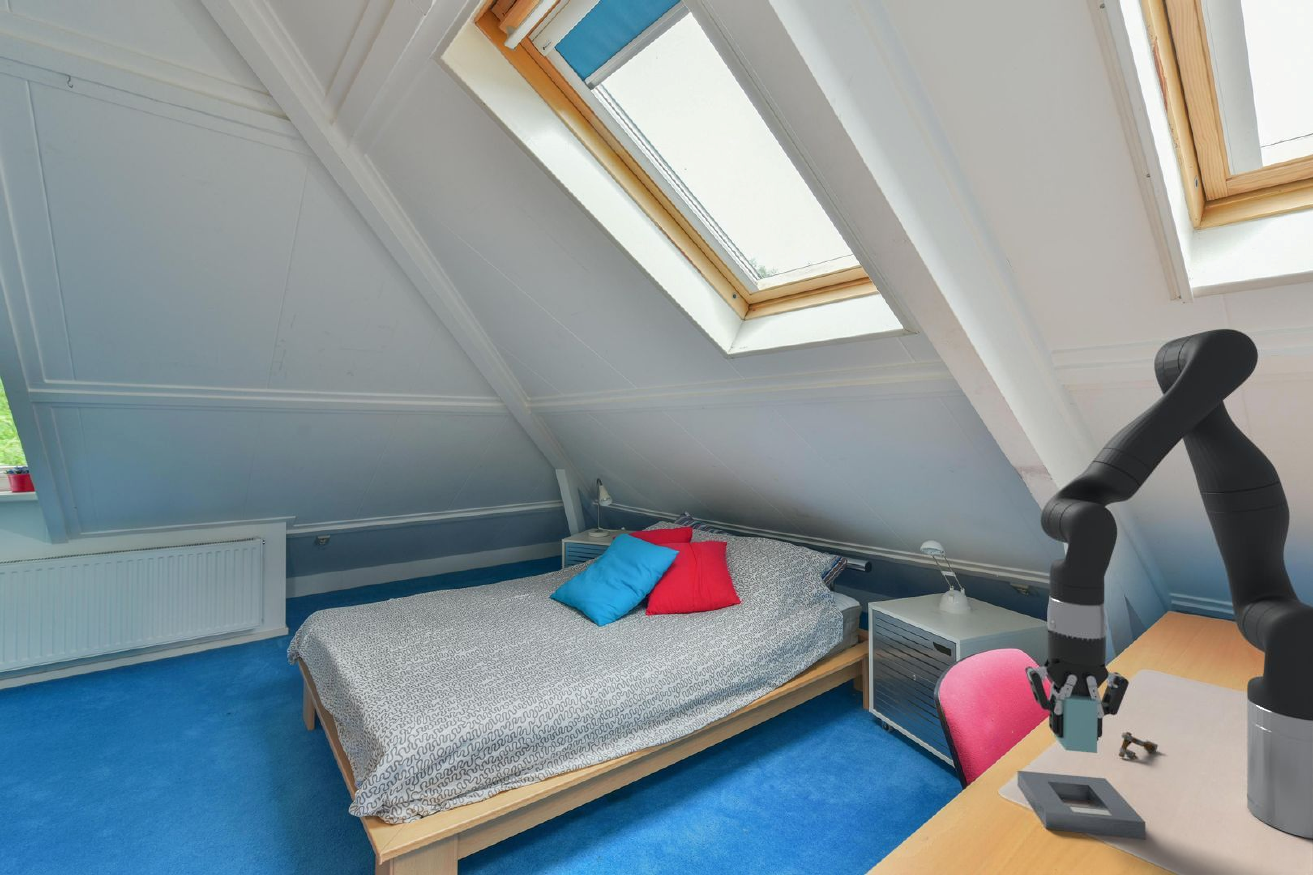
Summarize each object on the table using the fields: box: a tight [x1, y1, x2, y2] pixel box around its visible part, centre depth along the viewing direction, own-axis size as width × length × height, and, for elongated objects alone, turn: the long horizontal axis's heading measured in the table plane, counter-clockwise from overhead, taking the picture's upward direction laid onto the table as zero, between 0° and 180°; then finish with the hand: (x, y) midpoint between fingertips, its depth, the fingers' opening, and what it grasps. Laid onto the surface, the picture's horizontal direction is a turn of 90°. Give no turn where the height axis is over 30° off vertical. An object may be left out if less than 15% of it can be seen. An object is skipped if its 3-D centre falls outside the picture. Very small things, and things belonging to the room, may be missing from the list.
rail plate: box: [1017, 770, 1146, 840], centre depth 94 cm, size 13×11×3 cm
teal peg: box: [1053, 690, 1098, 754], centre depth 94 cm, size 4×4×8 cm
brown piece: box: [1118, 731, 1159, 759], centre depth 109 cm, size 2×8×4 cm, turn 108°
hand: (1075, 736), depth 94 cm, fingers closed on teal peg, 4 cm apart
